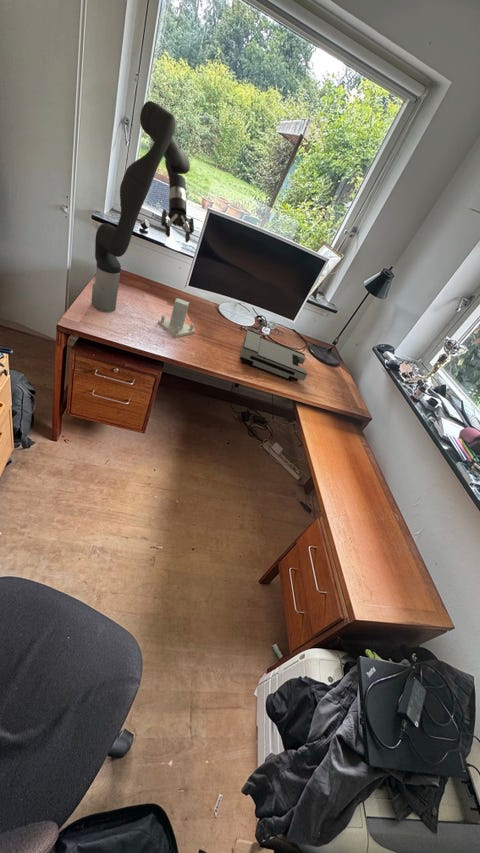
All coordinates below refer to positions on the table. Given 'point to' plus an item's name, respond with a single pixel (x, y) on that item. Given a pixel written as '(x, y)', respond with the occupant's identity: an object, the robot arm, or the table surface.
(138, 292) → the table surface
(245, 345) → the grey slotted box
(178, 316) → the skincare box
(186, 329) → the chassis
